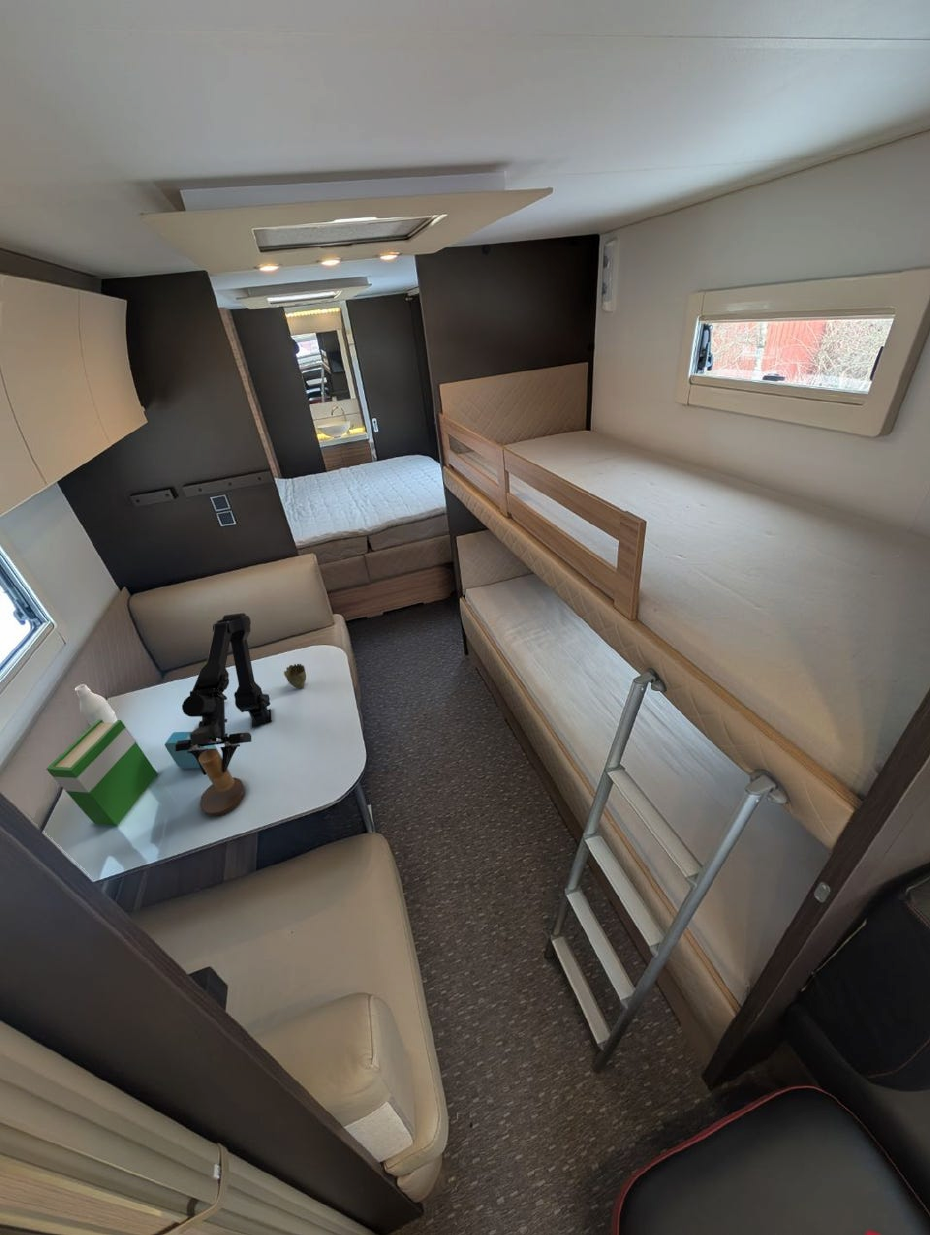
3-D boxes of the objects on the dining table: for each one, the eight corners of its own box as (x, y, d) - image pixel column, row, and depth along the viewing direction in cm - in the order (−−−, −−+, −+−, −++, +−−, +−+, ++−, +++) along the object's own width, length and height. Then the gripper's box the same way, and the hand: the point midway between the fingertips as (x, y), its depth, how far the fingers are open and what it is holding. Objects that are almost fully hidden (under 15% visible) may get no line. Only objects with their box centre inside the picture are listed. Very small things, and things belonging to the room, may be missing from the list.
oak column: (225, 775, 139) (209, 746, 132) (238, 780, 137) (221, 751, 130) (212, 789, 135) (194, 760, 128) (224, 794, 133) (207, 765, 126)
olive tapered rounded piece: (304, 693, 175) (298, 676, 171) (286, 692, 177) (279, 675, 172) (313, 680, 181) (307, 663, 177) (296, 678, 183) (290, 662, 178)
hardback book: (137, 773, 151) (98, 719, 137) (158, 774, 149) (120, 719, 136) (94, 824, 136) (46, 768, 123) (116, 825, 135) (70, 770, 122)
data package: (221, 756, 153) (207, 730, 146) (215, 768, 149) (199, 742, 143) (186, 757, 154) (170, 731, 147) (179, 769, 150) (162, 743, 144)
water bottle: (133, 740, 163) (96, 685, 149) (110, 753, 159) (69, 698, 145) (127, 730, 167) (90, 676, 154) (104, 743, 163) (64, 688, 149)
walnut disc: (204, 790, 143) (201, 785, 141) (246, 775, 146) (243, 771, 144) (200, 823, 133) (197, 819, 132) (245, 807, 136) (243, 803, 135)
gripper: (162, 721, 126) (162, 782, 123) (232, 712, 127) (234, 772, 124) (186, 720, 137) (187, 776, 134) (251, 712, 138) (253, 768, 135)
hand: (214, 773), depth 131 cm, fingers closed on oak column, 5 cm apart
